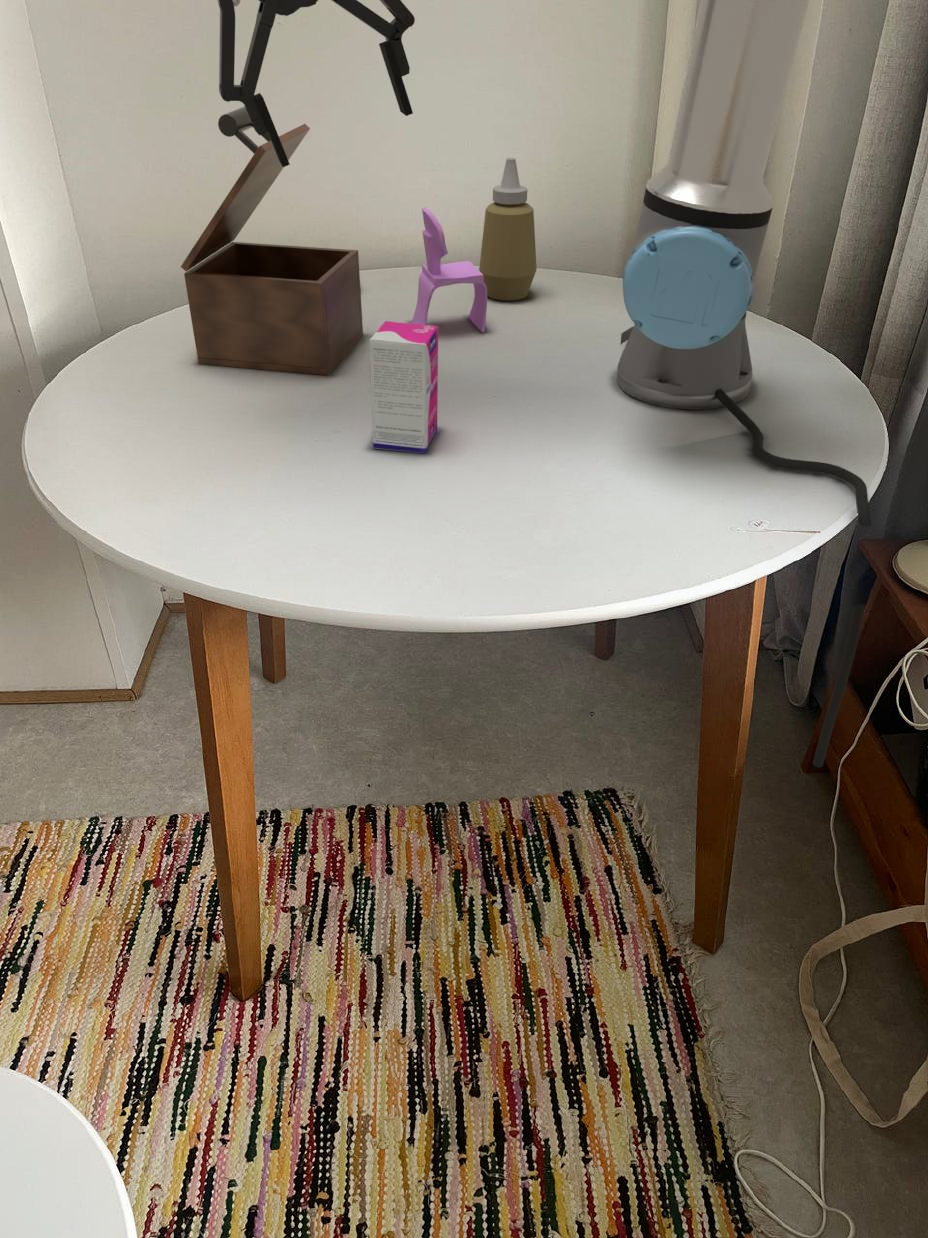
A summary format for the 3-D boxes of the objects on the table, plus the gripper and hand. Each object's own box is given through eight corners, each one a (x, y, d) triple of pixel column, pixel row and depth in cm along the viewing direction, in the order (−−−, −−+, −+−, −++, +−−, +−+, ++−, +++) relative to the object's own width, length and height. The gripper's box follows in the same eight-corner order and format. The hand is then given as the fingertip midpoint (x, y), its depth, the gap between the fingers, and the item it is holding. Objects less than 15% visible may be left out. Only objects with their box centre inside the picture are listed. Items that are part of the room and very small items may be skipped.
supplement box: (427, 454, 101) (425, 343, 94) (371, 449, 102) (365, 339, 95) (440, 430, 105) (439, 323, 99) (386, 425, 106) (381, 319, 100)
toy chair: (490, 334, 129) (492, 212, 120) (424, 341, 127) (422, 217, 118) (472, 313, 135) (473, 197, 127) (409, 320, 133) (405, 201, 125)
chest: (363, 336, 129) (358, 249, 122) (328, 375, 118) (320, 283, 111) (243, 326, 132) (232, 241, 125) (198, 363, 121) (183, 273, 114)
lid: (310, 128, 115) (266, 85, 114) (265, 151, 105) (216, 104, 103) (234, 240, 125) (192, 202, 123) (185, 271, 114) (139, 230, 113)
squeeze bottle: (469, 290, 144) (470, 155, 133) (519, 283, 146) (523, 150, 136) (494, 307, 138) (497, 167, 127) (545, 299, 140) (552, 161, 130)
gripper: (378, -157, 92) (447, 85, 106) (128, -56, 92) (230, 176, 105) (396, -161, 87) (467, 96, 100) (129, -52, 86) (236, 192, 99)
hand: (346, 138), depth 102 cm, fingers open, 13 cm apart
